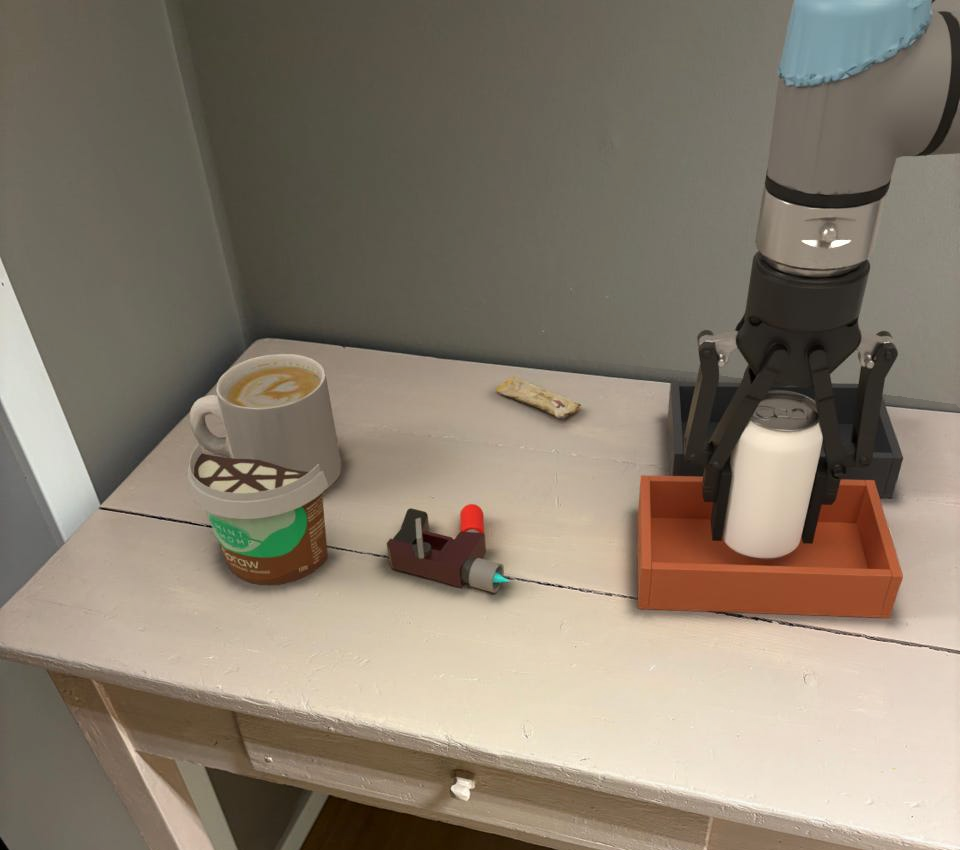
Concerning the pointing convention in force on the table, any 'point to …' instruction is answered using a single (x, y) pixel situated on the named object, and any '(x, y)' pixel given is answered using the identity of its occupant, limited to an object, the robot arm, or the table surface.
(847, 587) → the terracotta bin
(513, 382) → the snack bar
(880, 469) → the grey bin
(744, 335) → the robot arm
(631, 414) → the table surface
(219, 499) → the food container
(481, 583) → the toy gun
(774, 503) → the can
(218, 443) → the coffee mug
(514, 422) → the table surface
